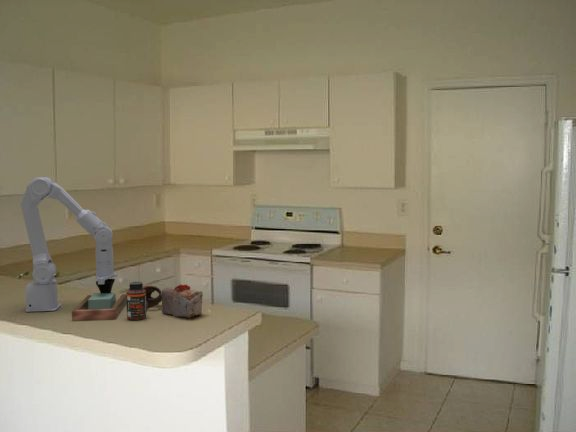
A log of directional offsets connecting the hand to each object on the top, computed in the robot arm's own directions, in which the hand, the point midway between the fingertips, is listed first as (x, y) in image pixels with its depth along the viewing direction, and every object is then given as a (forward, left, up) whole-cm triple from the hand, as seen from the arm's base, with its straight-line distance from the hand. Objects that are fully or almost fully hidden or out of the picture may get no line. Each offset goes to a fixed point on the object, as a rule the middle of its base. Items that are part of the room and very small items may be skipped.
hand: (106, 300), depth 199 cm
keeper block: (0, -6, -2) cm, 6 cm away
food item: (+27, -17, -2) cm, 32 cm away
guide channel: (0, -8, -1) cm, 8 cm away
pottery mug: (+14, -5, -2) cm, 15 cm away
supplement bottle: (+13, -19, -2) cm, 23 cm away
